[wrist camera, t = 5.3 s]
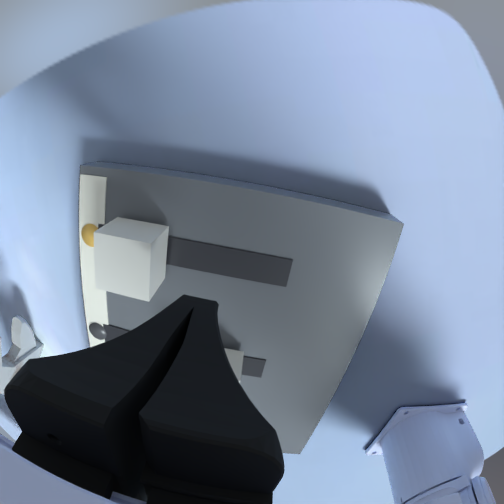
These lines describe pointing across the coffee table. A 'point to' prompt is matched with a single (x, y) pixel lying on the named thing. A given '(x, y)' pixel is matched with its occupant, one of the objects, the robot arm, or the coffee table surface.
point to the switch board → (249, 277)
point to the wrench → (18, 350)
